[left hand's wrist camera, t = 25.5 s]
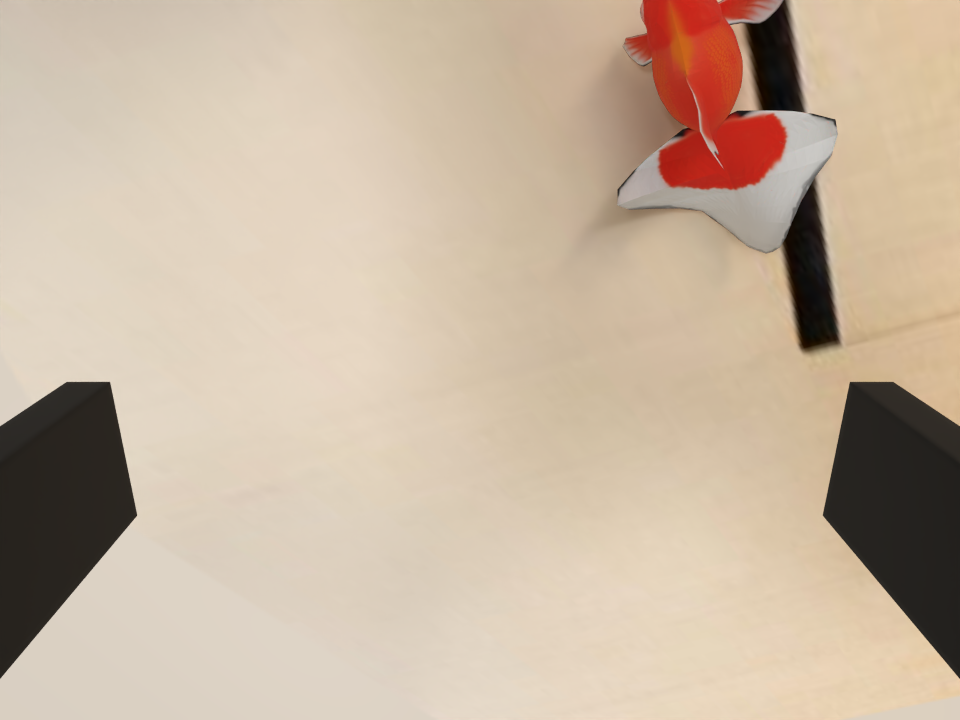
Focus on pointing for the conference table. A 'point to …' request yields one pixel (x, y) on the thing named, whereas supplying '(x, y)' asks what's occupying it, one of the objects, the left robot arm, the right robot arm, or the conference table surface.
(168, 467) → the conference table surface
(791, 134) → the fish
